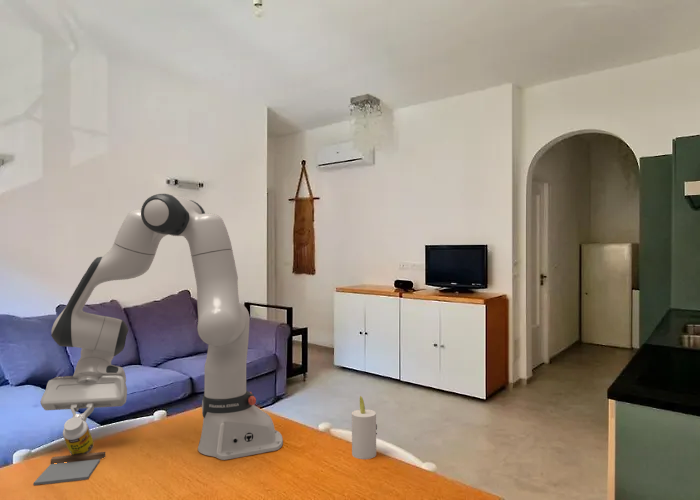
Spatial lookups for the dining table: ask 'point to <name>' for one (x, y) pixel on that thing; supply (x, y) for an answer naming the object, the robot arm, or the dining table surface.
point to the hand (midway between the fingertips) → (78, 422)
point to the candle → (364, 432)
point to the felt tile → (67, 472)
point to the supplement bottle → (77, 436)
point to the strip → (78, 457)
